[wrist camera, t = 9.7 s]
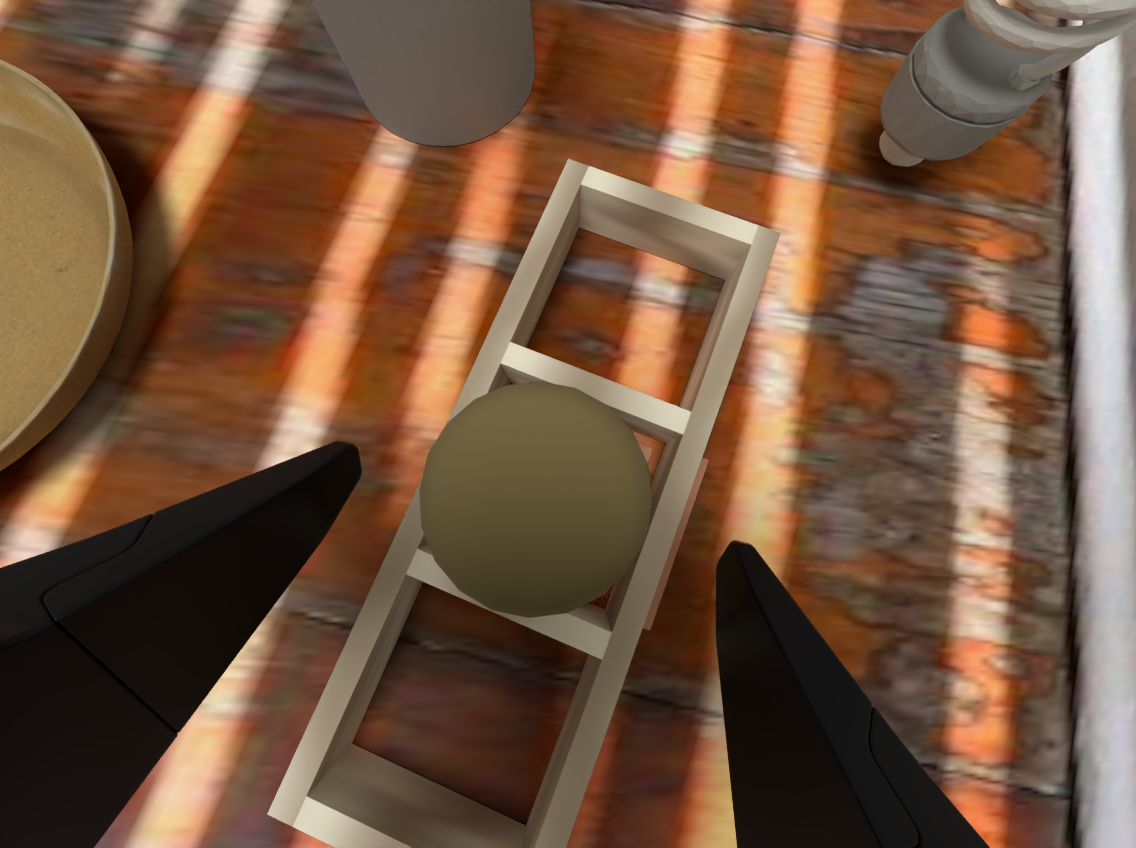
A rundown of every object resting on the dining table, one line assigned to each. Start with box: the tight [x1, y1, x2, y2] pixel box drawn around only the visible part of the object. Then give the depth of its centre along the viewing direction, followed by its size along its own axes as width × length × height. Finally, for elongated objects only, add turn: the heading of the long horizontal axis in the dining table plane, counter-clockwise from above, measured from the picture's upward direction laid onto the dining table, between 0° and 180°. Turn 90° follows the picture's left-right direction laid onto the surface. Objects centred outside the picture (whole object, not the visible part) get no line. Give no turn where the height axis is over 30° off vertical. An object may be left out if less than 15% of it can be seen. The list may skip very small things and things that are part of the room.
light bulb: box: [879, 0, 1136, 167], centre depth 16 cm, size 6×6×12 cm
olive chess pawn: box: [419, 381, 653, 618], centre depth 13 cm, size 6×6×11 cm
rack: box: [268, 159, 780, 848], centre depth 17 cm, size 10×28×3 cm, turn 158°
